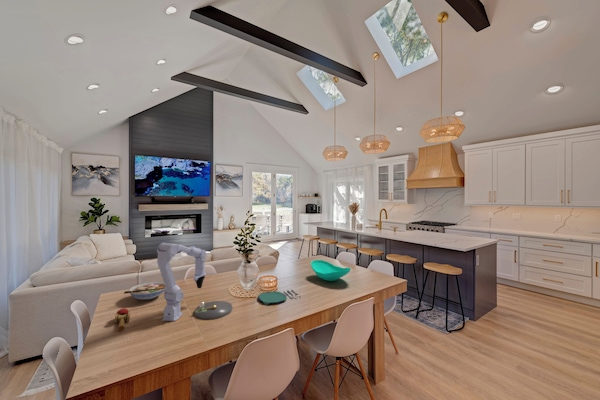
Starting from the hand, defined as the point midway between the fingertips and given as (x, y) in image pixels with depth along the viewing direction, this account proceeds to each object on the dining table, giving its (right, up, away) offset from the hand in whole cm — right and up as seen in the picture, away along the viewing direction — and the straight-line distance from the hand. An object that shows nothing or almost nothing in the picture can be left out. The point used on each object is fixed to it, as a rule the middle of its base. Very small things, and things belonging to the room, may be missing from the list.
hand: (199, 287), depth 162 cm
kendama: (-31, -10, -27) cm, 43 cm away
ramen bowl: (-38, -10, +7) cm, 40 cm away
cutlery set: (+52, -12, +12) cm, 54 cm away
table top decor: (+93, -12, +54) cm, 108 cm away
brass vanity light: (+10, -9, -12) cm, 17 cm away
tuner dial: (+13, -11, -10) cm, 19 cm away
